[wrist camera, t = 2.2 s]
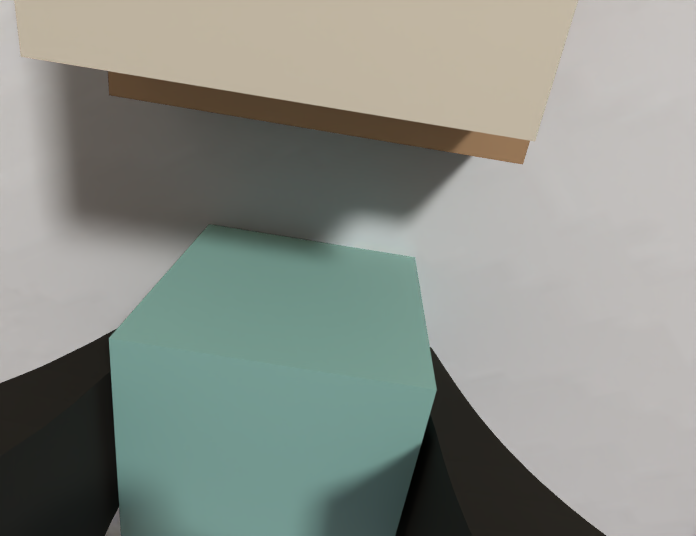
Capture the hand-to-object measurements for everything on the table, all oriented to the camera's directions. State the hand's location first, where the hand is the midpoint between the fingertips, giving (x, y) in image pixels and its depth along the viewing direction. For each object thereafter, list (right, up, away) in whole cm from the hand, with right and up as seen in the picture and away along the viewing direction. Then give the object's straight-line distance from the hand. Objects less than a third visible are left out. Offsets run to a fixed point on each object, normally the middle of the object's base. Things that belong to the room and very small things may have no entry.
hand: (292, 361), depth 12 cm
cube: (0, +1, +1) cm, 2 cm away
